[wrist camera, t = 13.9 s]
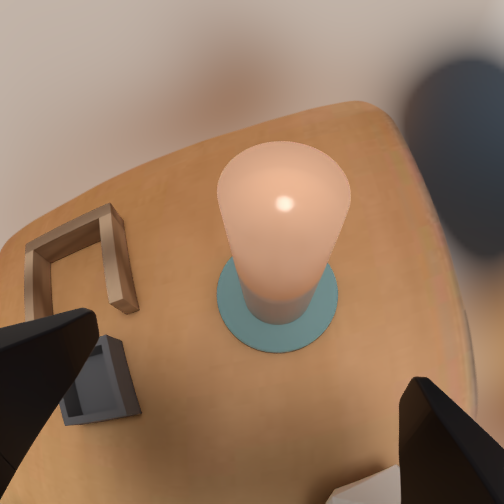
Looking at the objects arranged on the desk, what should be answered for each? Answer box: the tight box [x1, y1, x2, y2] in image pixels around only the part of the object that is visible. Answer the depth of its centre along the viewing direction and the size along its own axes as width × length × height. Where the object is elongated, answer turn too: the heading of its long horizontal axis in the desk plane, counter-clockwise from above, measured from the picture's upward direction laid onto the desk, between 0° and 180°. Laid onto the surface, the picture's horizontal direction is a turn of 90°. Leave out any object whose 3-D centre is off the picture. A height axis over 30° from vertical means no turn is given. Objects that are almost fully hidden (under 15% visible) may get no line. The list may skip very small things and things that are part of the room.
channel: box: [24, 203, 139, 322], centre depth 22 cm, size 9×10×3 cm
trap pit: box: [59, 335, 142, 426], centre depth 18 cm, size 6×6×2 cm
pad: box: [217, 256, 338, 353], centre depth 22 cm, size 9×9×1 cm
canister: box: [217, 141, 351, 325], centre depth 16 cm, size 5×5×12 cm
